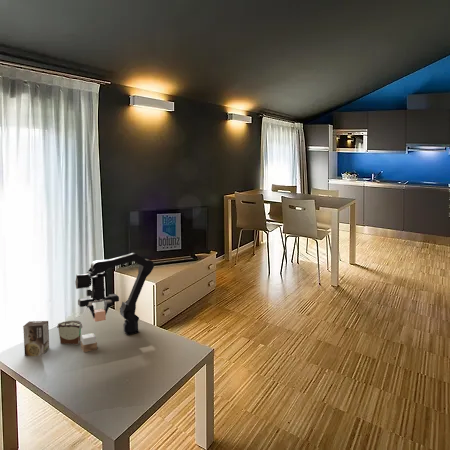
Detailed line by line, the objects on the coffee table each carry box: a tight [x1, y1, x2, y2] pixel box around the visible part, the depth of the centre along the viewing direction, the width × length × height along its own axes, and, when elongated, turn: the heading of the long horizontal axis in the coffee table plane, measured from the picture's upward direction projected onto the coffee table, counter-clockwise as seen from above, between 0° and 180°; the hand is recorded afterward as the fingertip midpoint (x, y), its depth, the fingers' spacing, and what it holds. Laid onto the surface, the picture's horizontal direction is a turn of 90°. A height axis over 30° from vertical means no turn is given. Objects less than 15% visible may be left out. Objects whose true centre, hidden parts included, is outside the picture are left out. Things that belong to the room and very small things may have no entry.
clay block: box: [92, 308, 107, 323], centre depth 186 cm, size 5×5×4 cm
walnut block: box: [80, 340, 98, 353], centre depth 177 cm, size 6×6×4 cm
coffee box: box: [22, 320, 50, 357], centre depth 174 cm, size 9×6×16 cm
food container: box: [57, 320, 83, 346], centre depth 185 cm, size 12×6×10 cm, turn 83°
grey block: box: [80, 332, 97, 345], centre depth 176 cm, size 6×6×3 cm
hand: (99, 317), depth 186 cm, fingers closed on clay block, 5 cm apart
